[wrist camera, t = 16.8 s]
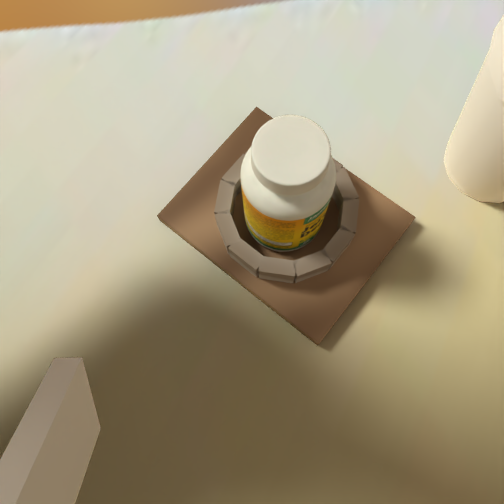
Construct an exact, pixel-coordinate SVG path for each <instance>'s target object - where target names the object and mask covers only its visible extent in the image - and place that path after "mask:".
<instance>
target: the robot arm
mask: <svg viewBox="0 0 504 504" xmlns="http://www.w3.org/2000/svg"><path fill="white" fill-rule="evenodd" d="M100 429H101V427H100V423H99V420H98V416H97V412H96V408H95V404H94V400H93V397H92V393H91V389H90V385H89V381H88V378H87V374H86V370H85V366H84V362H83V358H82V357H73V358H54V359H53V361H52V363H51V365H50V367H49V369H48V370H47V372H46V374H45V376H44V378H43V380H42V382H41V384H40V386H39V387H38V389H37V391H36V393H35V395H34V397H33V399H32V401H31V402H30V404H29V406H28V408H27V410H26V412H25V414H24V416H23V418H22V419H21V421H20V423H19V425H18V427H17V429H16V431H15V433H14V434H13V436H12V438H11V440H10V442H9V444H8V446H7V448H6V449H5V451H4V453H3V455H2V457H1V459H0V504H75V503H76V500H77V497H78V494H79V491H80V488H81V485H82V482H83V479H84V476H85V473H86V471H87V468H88V465H89V462H90V459H91V456H92V453H93V450H94V447H95V444H96V441H97V438H98V435H99V432H100Z"/></svg>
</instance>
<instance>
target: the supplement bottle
mask: <svg viewBox="0 0 504 504" xmlns="http://www.w3.org/2000/svg"><path fill="white" fill-rule="evenodd" d="M240 178H241V189H242V196H243V205H244V215H245V221H246V225H247V227H248V230H249V232H250V233H251V235H252V236H253V238H254V239H255V240H256V241H257V242H258V243H260V244H261V245H262V246H264V247H266V248H268V249H271V250H273V251H278V252H287V251H293V250H297V249H300V248H302V247H304V246H306V245H307V244H309V243H310V242H311V241H312V240H313V239H314V238H315V236H316V235H317V233H318V232H319V230H320V227H321V225H322V222H323V219H324V216H325V214H326V211H327V208H328V205H329V202H330V199H331V197H332V194H333V191H334V187H335V183H336V168H335V164H334V161H333V158H332V156H331V147H330V142H329V139H328V137H327V135H326V133H325V132H324V130H323V129H322V128H321V127H320V126H319V125H318V124H317V123H315V122H314V121H312V120H310V119H308V118H305V117H302V116H297V115H284V116H279V117H276V118H274V119H271V120H269V121H268V122H266V123H265V124H264V125H263V126H262V127H261V128H260V129H259V130H258V131H257V133H256V135H255V137H254V139H253V142H252V146H251V147H250V148H249V150H248V151H247V153H246V155H245V157H244V159H243V162H242V166H241V176H240Z"/></svg>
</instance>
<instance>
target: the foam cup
mask: <svg viewBox="0 0 504 504" xmlns="http://www.w3.org/2000/svg"><path fill="white" fill-rule="evenodd" d="M444 163H445V167H446V171H447V174H448V178H449V179H450V180H451V181H452V182H453V183H454V185H455V186H456V187H457V188H458V189H459V190H460V192H461V193H463V194H465V195H467V196H469V197H471V198H473V199H475V200H477V201H479V202H491V203H502V202H504V15H503V17H502V18H501V20H500V21H499V23H498V25H497V26H496V28H495V29H494V32H493V37H492V41H491V46H490V49H489V52H488V54H487V56H486V58H485V60H484V63H483V65H482V67H481V69H480V72H479V74H478V76H477V78H476V80H475V83H474V85H473V87H472V89H471V92H470V94H469V96H468V98H467V101H466V103H465V105H464V107H463V109H462V112H461V114H460V116H459V118H458V121H457V123H456V125H455V127H454V129H453V132H452V134H451V136H450V138H449V142H448V143H447V147H446V152H445V156H444Z"/></svg>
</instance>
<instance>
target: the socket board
mask: <svg viewBox="0 0 504 504" xmlns="http://www.w3.org/2000/svg"><path fill="white" fill-rule="evenodd" d="M271 119H273V118H272V117H270V116H269V115H268V114H266V113H265V112H263V111H262V110H260V109H259V108H257V107H256V108H255V109H254V110H253V111H252V112H251V113H250V115H249V116H248V117H247V118H246V119H245V120H244V121H243V122H242V123H241V124H240V126H239V127H238V128H237V129H236V130H235V131H234V132H233V133H232V134H231V135H230V136H229V138H228V139H227V140H226V141H225V142H224V143H223V144H222V145H221V146H220V147H219V149H218V150H217V151H216V152H215V153H214V154H213V155H212V156H211V157H210V158H209V159H208V161H207V162H206V163H205V164H204V165H203V166H202V167H201V168H200V169H199V170H198V172H197V173H196V174H195V175H194V176H193V177H192V178H191V179H190V180H189V181H188V182H187V184H186V185H185V186H184V187H183V188H182V189H181V190H180V191H179V192H178V193H177V195H176V196H175V197H174V198H173V199H172V200H171V201H170V202H169V203H168V204H167V205H166V207H165V208H164V209H163V210H162V211H161V212H160V213H159V214H158V215H157V216H158V218H159V220H160V221H161V222H162V223H164V224H165V225H166V226H167V227H169V228H170V229H171V230H172V231H174V232H175V233H176V234H178V235H179V236H180V237H181V238H183V239H184V240H185V241H186V242H188V243H189V244H190V245H191V246H193V247H194V248H195V249H196V250H198V251H199V252H200V253H201V254H203V255H204V256H205V257H206V258H208V259H209V260H210V261H212V262H213V263H214V264H215V265H217V266H218V267H219V268H220V269H222V270H223V271H224V272H225V273H227V274H228V275H229V276H230V277H232V278H233V279H234V280H235V281H237V282H238V283H239V284H241V285H242V286H243V287H244V288H246V289H247V290H248V291H249V292H251V293H252V294H253V295H254V296H256V297H257V298H258V299H259V300H261V301H262V302H263V303H264V304H266V305H267V306H268V307H270V308H271V309H272V310H273V311H275V312H276V313H277V314H278V315H280V316H281V317H282V318H283V319H285V320H286V321H287V322H288V323H290V324H291V325H292V326H293V327H295V328H296V329H297V330H298V331H300V332H301V333H302V334H304V335H305V336H306V337H307V338H309V339H310V340H311V341H312V342H314V343H315V344H316V345H319V344H320V342H321V341H322V340H323V338H324V337H325V336H326V334H327V333H328V332H329V330H330V329H331V328H332V326H333V325H334V324H335V323H336V321H337V320H338V319H339V317H340V316H341V315H342V313H343V312H344V311H345V309H346V308H347V307H348V305H349V304H350V303H351V302H352V300H353V299H354V298H355V296H356V295H357V294H358V292H359V291H360V290H361V288H362V287H363V286H364V285H365V283H366V282H367V281H368V279H369V278H370V277H371V275H372V274H373V273H374V271H375V270H376V269H377V267H378V266H379V265H380V264H381V262H382V261H383V260H384V258H385V257H386V256H387V254H388V253H389V252H390V250H391V249H392V248H393V246H394V245H395V244H396V243H397V241H398V240H399V239H400V237H401V236H402V235H403V233H404V232H405V231H406V229H407V228H408V227H409V225H410V224H411V223H412V222H413V220H414V219H415V218H416V217H414V216H413V215H412V214H410V213H409V212H407V211H406V210H404V209H403V208H402V207H400V206H399V205H397V204H396V203H394V202H393V201H391V200H390V199H389V198H387V197H386V196H384V195H383V194H381V193H380V192H378V191H377V190H376V189H374V188H373V187H371V186H370V185H368V184H367V183H365V182H364V181H363V180H361V179H360V178H358V177H357V176H355V175H354V174H353V173H351V172H350V171H348V170H347V169H345V167H343V165H342V164H341V163H339V162H338V161H336V160H335V159H333V161H334V164H335V168H336V183H335V187H334V191H333V194H332V197H331V199H330V202H329V205H328V208H327V211H326V214H325V216H324V219H323V222H322V225H321V227H320V230H319V232H318V233H317V235H316V236H315V238H314V239H313V240H312V241H311V242H310V243H309V244H307V245H306V246H304V247H302V248H300V249H297V250H293V251H287V252H278V251H273V250H271V249H268V248H266V247H264V246H262V245H261V244H260V243H258V242H257V241H256V240H255V239H254V238H253V236H252V235H251V233H250V232H249V230H248V227H247V225H246V221H245V215H244V205H243V196H242V189H241V178H240V176H241V166H242V162H243V159H244V157H245V155H246V153H247V151H248V150H249V148H250V147H251V146H252V142H253V139H254V137H255V135H256V133H257V131H258V130H259V129H260V128H261V127H262V126H263V125H264V124H265V123H266V122H268V121H269V120H271Z"/></svg>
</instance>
